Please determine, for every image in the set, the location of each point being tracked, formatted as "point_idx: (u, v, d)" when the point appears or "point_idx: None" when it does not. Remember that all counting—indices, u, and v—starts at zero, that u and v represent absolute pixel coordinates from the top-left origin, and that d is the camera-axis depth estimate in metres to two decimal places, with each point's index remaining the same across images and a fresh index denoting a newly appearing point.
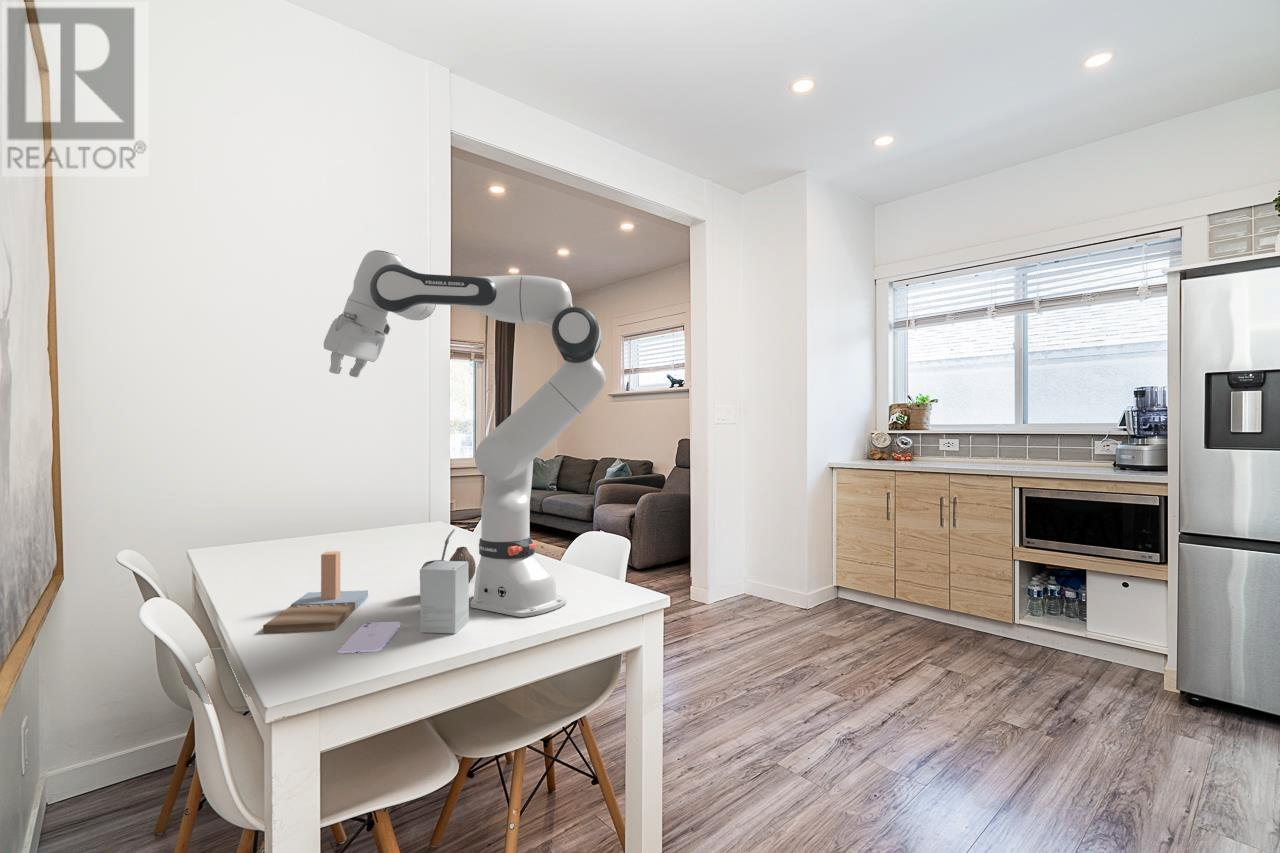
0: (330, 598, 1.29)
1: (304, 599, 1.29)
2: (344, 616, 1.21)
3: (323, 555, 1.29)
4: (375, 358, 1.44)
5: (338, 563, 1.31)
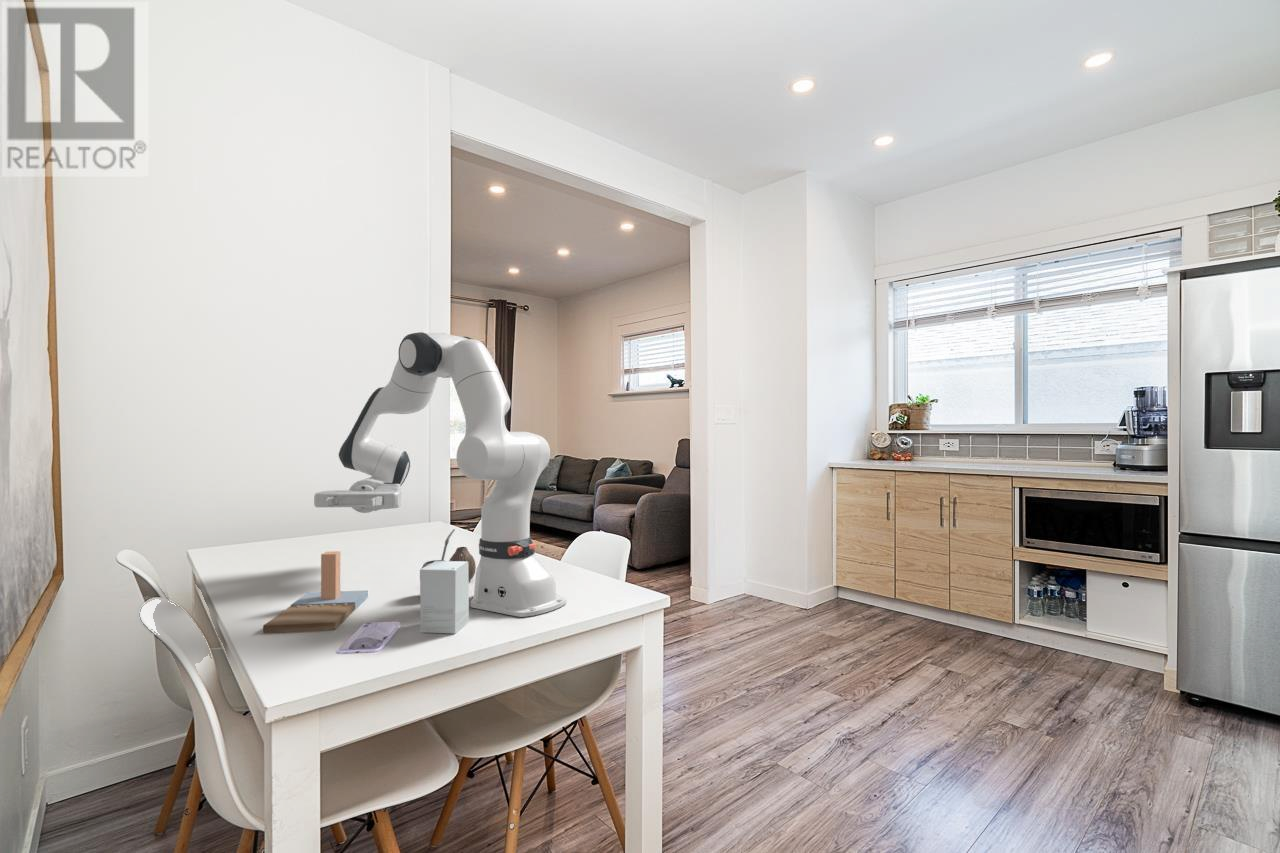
0: (330, 598, 1.29)
1: (304, 599, 1.29)
2: (344, 616, 1.21)
3: (323, 555, 1.29)
4: (392, 492, 1.50)
5: (338, 563, 1.31)
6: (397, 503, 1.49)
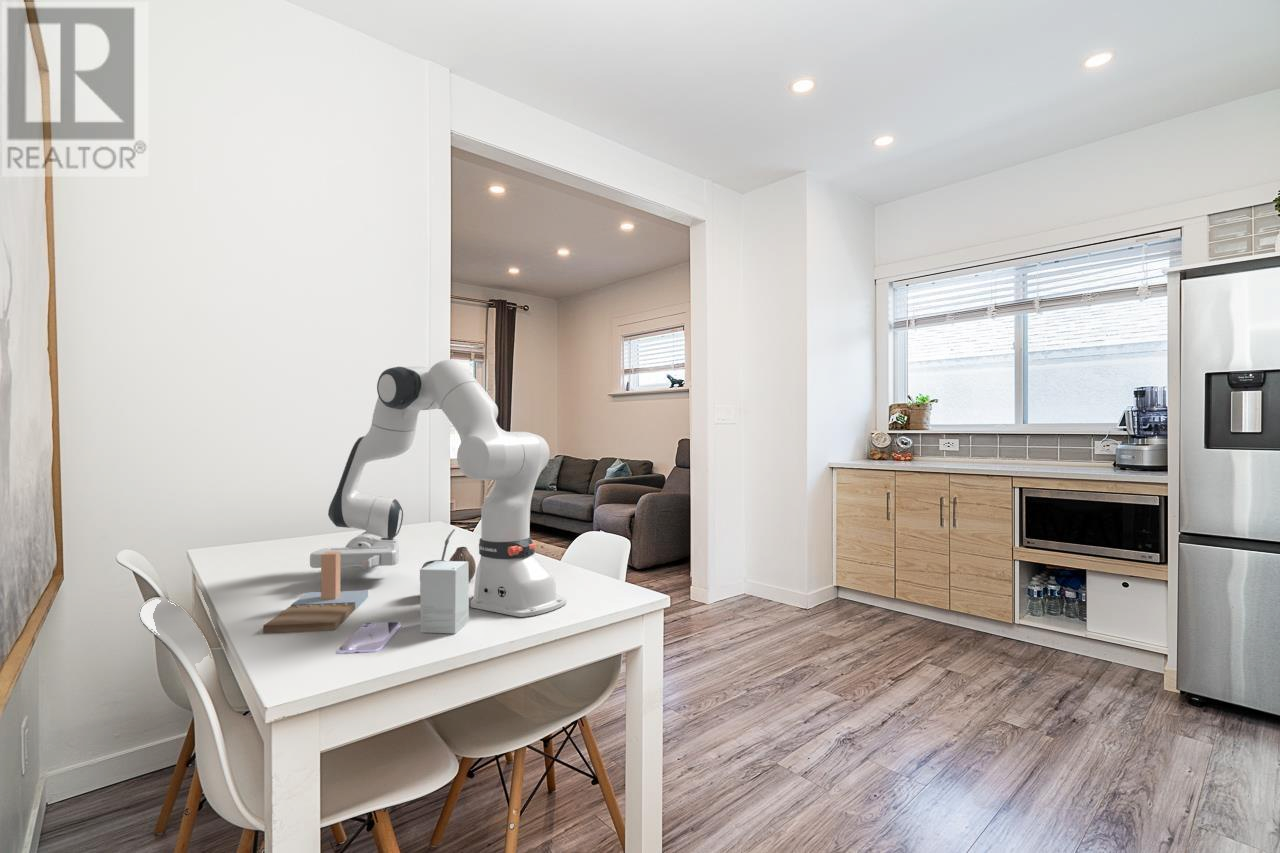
0: (330, 598, 1.29)
1: (304, 599, 1.29)
2: (344, 616, 1.21)
3: (323, 555, 1.29)
4: (389, 550, 1.47)
5: (338, 563, 1.31)
6: (394, 561, 1.46)
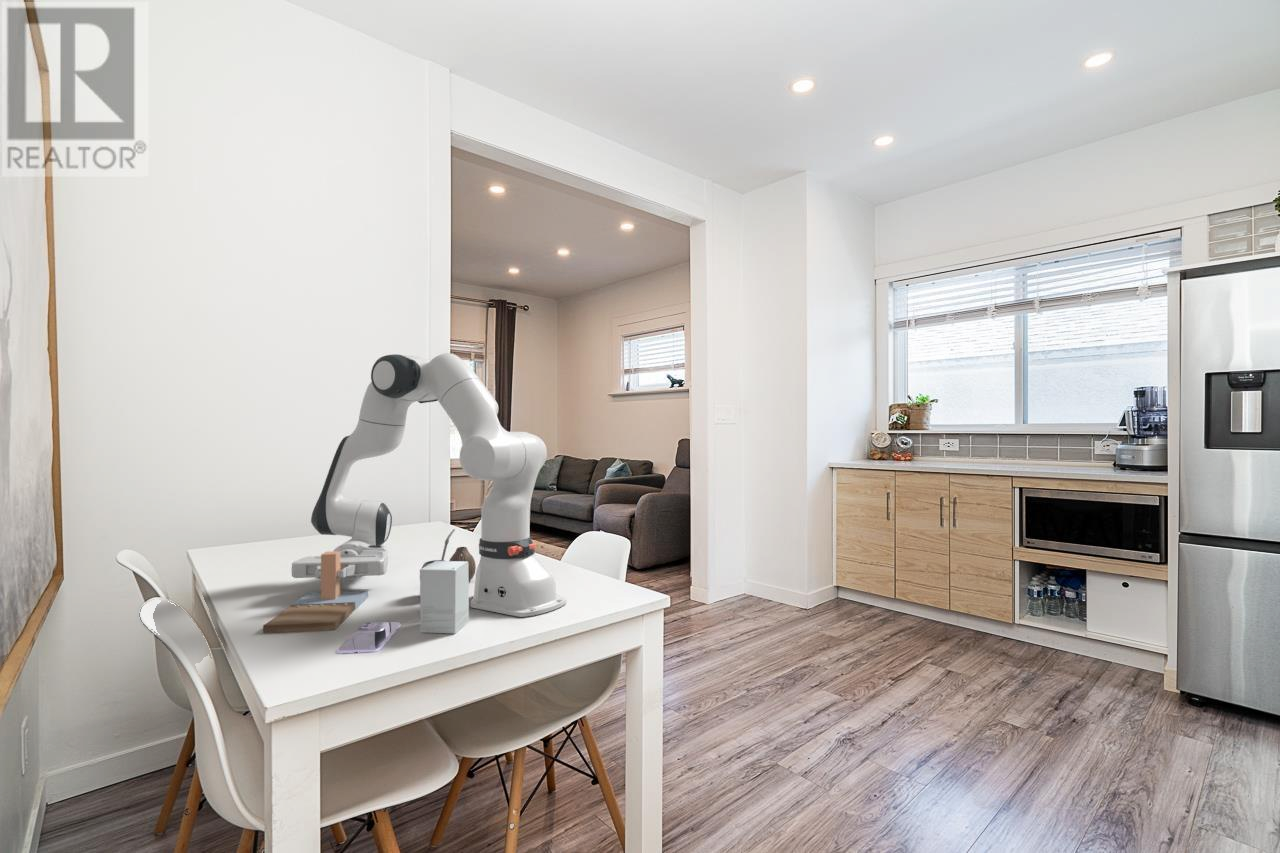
0: (330, 598, 1.29)
1: (304, 599, 1.29)
2: (344, 616, 1.21)
3: (323, 555, 1.29)
4: (377, 559, 1.37)
5: (338, 563, 1.31)
6: (383, 571, 1.37)
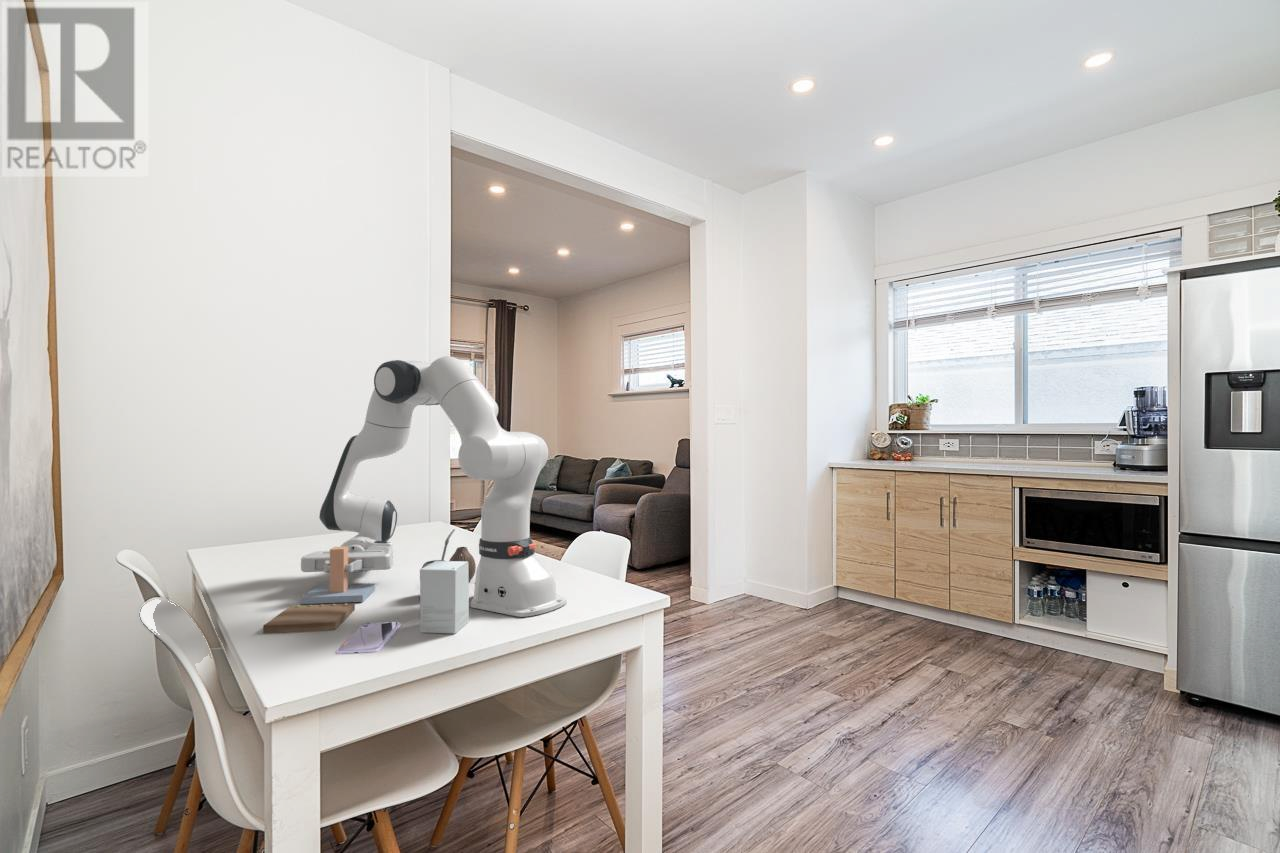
0: (338, 591, 1.34)
1: (313, 592, 1.34)
2: (344, 616, 1.21)
3: (332, 550, 1.34)
4: (383, 554, 1.42)
5: (346, 558, 1.36)
6: (389, 566, 1.42)
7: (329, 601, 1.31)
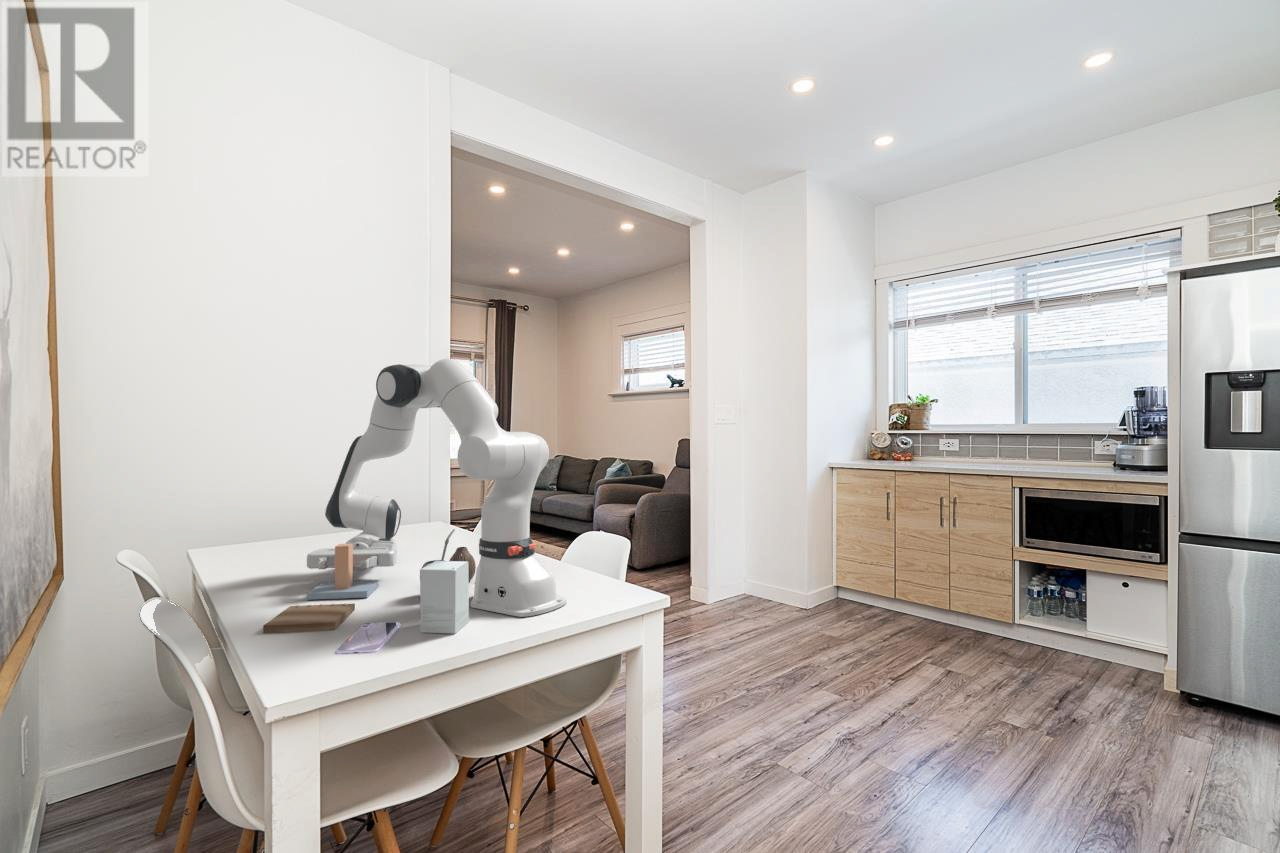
0: (343, 587, 1.38)
1: (319, 588, 1.38)
2: (344, 616, 1.21)
3: (337, 547, 1.37)
4: (387, 551, 1.45)
5: (351, 554, 1.40)
6: (392, 562, 1.45)
7: (334, 597, 1.35)
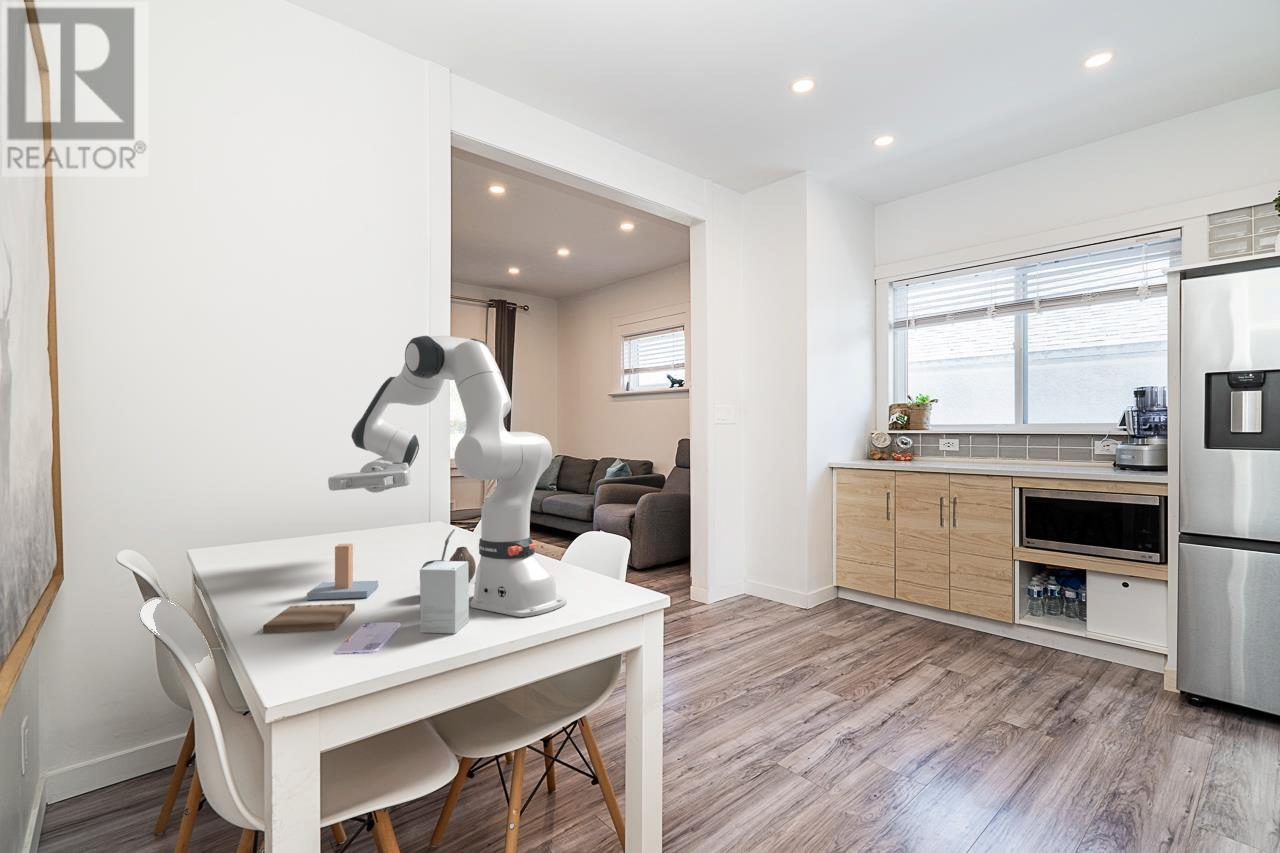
0: (343, 587, 1.38)
1: (319, 588, 1.38)
2: (344, 616, 1.21)
3: (337, 547, 1.37)
4: (402, 471, 1.57)
5: (351, 554, 1.40)
6: (407, 481, 1.57)
7: (334, 597, 1.35)
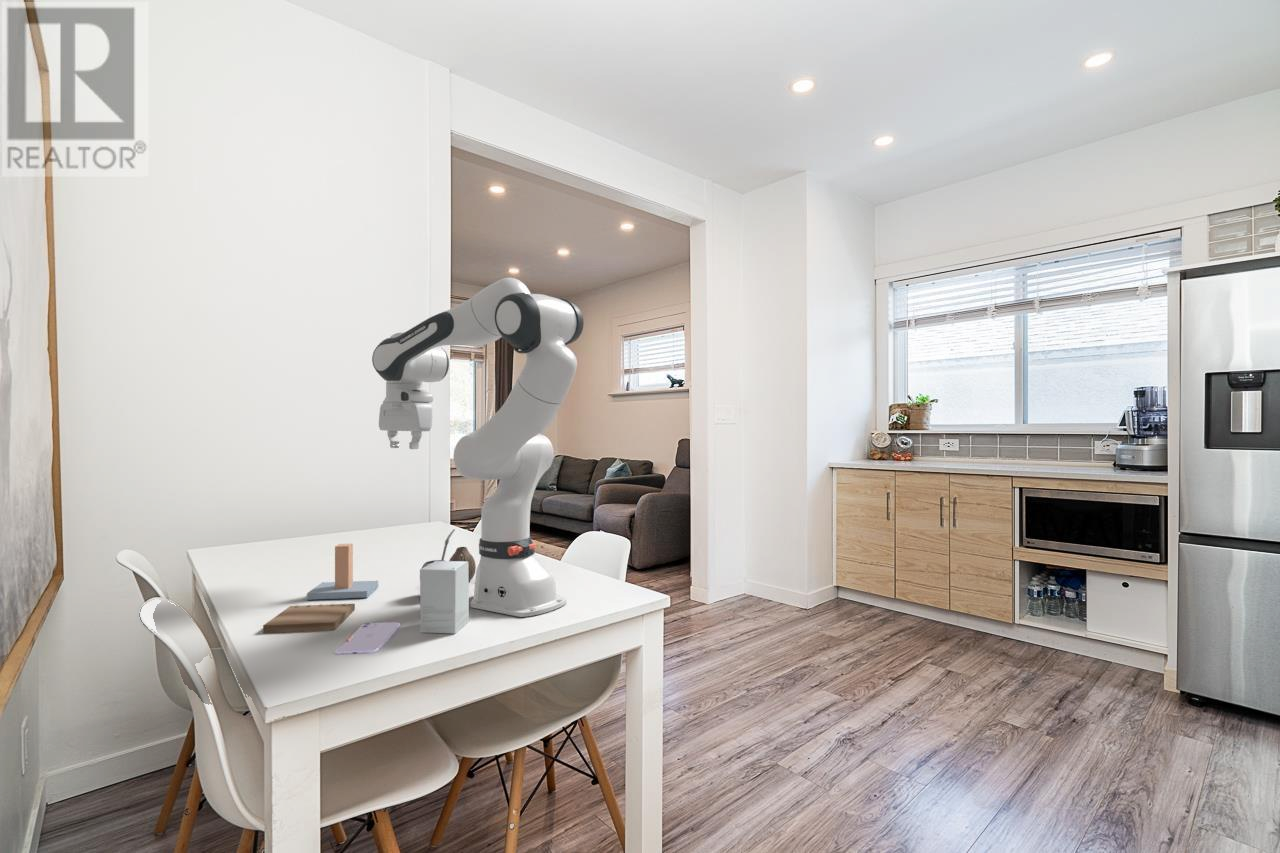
0: (343, 587, 1.38)
1: (319, 588, 1.38)
2: (344, 616, 1.21)
3: (337, 547, 1.37)
4: (415, 427, 1.46)
5: (351, 554, 1.40)
6: (428, 428, 1.47)
7: (334, 597, 1.35)
